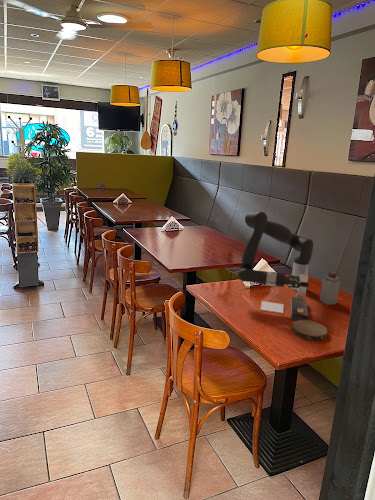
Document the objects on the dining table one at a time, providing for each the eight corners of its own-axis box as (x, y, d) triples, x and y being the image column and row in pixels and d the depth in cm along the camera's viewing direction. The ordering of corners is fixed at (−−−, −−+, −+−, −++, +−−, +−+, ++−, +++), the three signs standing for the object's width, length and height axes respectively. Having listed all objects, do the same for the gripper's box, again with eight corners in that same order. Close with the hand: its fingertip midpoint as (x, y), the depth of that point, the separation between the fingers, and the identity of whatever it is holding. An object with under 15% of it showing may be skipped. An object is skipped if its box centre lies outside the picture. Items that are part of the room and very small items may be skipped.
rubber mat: (261, 301, 211) (261, 301, 210) (283, 305, 208) (283, 304, 208) (260, 310, 199) (260, 309, 199) (283, 313, 197) (283, 312, 196)
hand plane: (290, 302, 213) (292, 292, 211) (305, 304, 211) (306, 294, 209) (291, 319, 190) (292, 308, 188) (307, 322, 188) (308, 311, 187)
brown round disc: (319, 326, 185) (320, 320, 184) (331, 342, 170) (333, 336, 169) (287, 324, 185) (288, 319, 184) (297, 340, 169) (298, 334, 168)
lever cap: (297, 291, 201) (299, 273, 198) (305, 292, 200) (307, 274, 197) (297, 294, 196) (300, 276, 193) (305, 295, 195) (308, 277, 192)
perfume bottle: (326, 304, 212) (331, 274, 208) (319, 300, 218) (324, 271, 214) (336, 304, 214) (341, 274, 209) (329, 299, 220) (334, 270, 216)
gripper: (275, 276, 192) (310, 281, 188) (276, 268, 205) (308, 272, 201) (274, 290, 194) (307, 294, 190) (275, 281, 207) (306, 285, 203)
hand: (308, 283), depth 196 cm, fingers closed on lever cap, 5 cm apart
